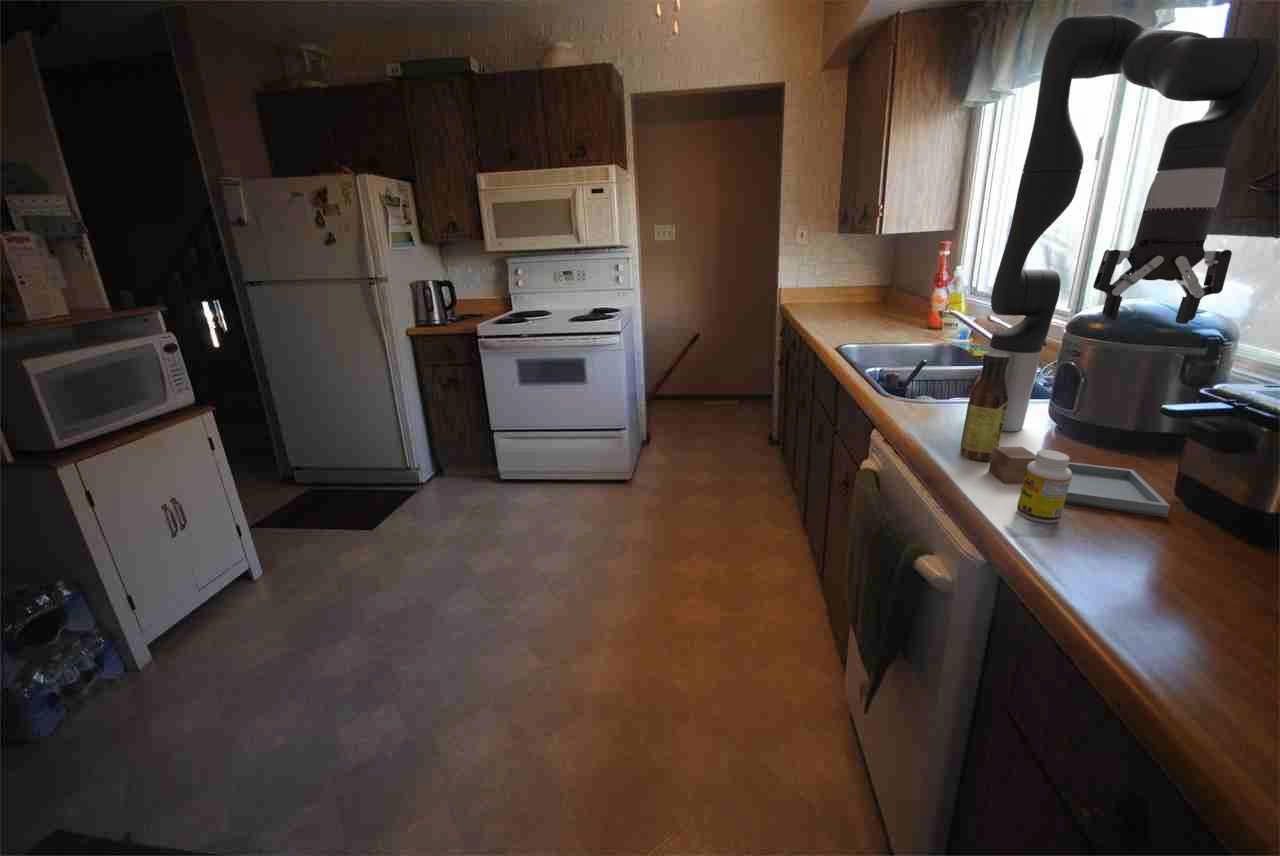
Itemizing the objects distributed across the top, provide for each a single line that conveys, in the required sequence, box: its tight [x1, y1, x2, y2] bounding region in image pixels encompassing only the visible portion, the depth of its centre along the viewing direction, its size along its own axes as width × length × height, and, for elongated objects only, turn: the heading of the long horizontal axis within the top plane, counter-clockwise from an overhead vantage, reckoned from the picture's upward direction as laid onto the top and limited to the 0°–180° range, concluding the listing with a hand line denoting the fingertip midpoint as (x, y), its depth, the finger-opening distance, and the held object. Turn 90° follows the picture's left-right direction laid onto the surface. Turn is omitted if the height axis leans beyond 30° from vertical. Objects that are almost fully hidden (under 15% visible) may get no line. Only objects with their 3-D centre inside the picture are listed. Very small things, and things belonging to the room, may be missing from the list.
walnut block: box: [987, 446, 1037, 485], centre depth 98 cm, size 5×5×5 cm
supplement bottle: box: [1016, 449, 1072, 524], centre depth 84 cm, size 6×6×10 cm
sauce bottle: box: [960, 352, 1009, 462], centre depth 104 cm, size 6×6×20 cm
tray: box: [1064, 461, 1171, 519], centre depth 93 cm, size 14×14×2 cm
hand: (1144, 321), depth 84 cm, fingers open, 8 cm apart
